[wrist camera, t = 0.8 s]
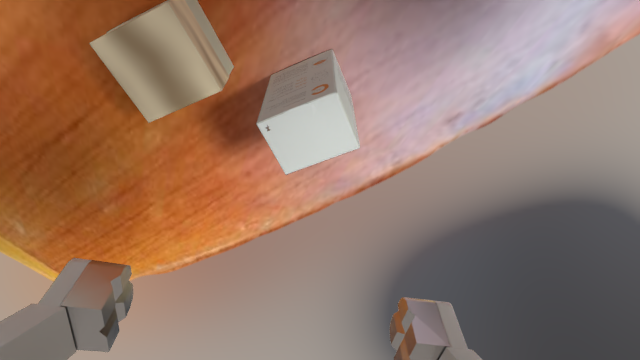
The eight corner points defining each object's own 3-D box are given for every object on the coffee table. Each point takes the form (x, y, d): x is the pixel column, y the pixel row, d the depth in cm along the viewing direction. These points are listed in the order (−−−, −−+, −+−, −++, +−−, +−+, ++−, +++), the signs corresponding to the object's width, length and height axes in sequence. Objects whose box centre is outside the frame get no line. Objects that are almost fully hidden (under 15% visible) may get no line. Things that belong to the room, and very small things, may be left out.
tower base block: (191, -13, 41) (180, -6, 38) (234, 65, 46) (227, 77, 43) (122, 22, 43) (106, 32, 40) (170, 93, 48) (159, 107, 45)
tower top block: (181, -6, 38) (167, 1, 35) (229, 76, 43) (221, 90, 39) (108, 32, 40) (88, 43, 37) (161, 107, 45) (148, 122, 42)
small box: (292, 119, 50) (284, 177, 39) (269, 74, 46) (253, 123, 36) (353, 95, 48) (361, 149, 37) (333, 47, 44) (336, 90, 34)
